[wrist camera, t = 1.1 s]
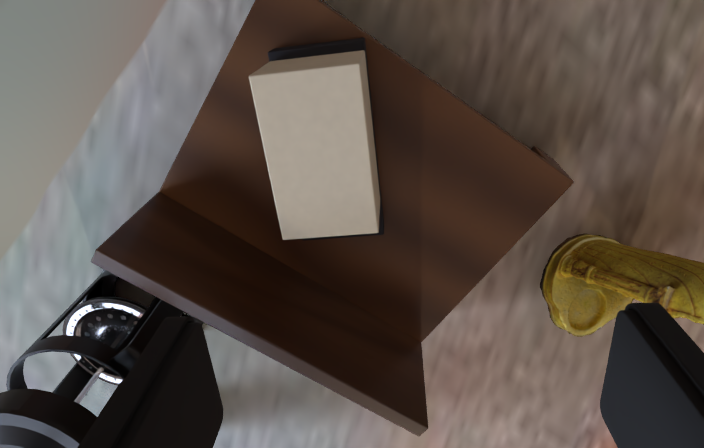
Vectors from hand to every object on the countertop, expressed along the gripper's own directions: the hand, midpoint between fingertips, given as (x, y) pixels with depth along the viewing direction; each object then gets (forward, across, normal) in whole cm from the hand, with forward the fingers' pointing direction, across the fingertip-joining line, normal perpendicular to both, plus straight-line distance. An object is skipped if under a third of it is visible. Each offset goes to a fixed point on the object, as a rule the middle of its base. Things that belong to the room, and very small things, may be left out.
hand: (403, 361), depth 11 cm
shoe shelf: (+25, +2, +4) cm, 26 cm away
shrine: (+25, -16, +12) cm, 32 cm away
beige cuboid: (+21, +4, +1) cm, 21 cm away
